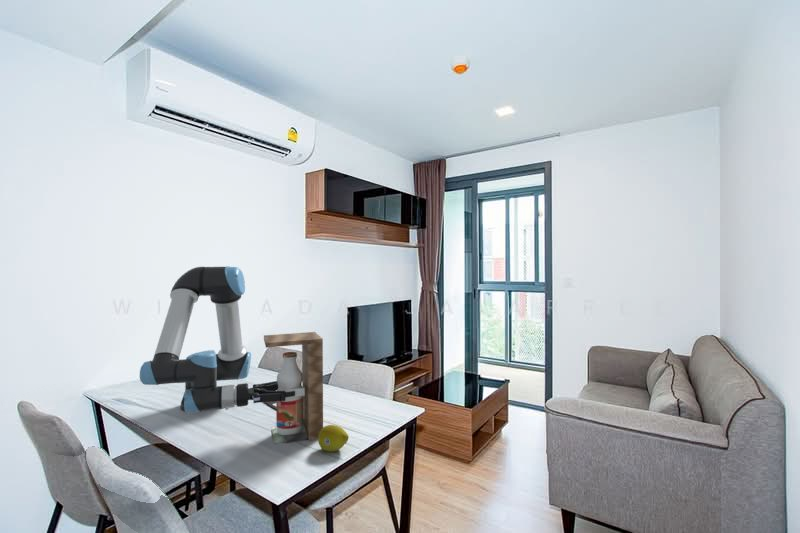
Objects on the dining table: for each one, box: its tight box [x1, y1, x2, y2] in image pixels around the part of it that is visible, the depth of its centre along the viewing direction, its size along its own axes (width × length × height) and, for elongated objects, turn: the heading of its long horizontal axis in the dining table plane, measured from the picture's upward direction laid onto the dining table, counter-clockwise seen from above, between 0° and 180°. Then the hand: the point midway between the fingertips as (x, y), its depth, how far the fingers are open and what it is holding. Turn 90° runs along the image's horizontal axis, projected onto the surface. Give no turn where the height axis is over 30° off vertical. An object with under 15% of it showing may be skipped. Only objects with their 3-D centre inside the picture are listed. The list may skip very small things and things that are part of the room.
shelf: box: [263, 331, 324, 444], centre depth 136 cm, size 19×16×35 cm
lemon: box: [317, 424, 349, 453], centre depth 123 cm, size 11×8×8 cm
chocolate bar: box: [263, 401, 276, 411], centre depth 166 cm, size 9×1×18 cm
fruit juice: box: [275, 351, 303, 435], centre depth 136 cm, size 9×9×28 cm
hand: (302, 387), depth 138 cm, fingers closed on fruit juice, 9 cm apart
